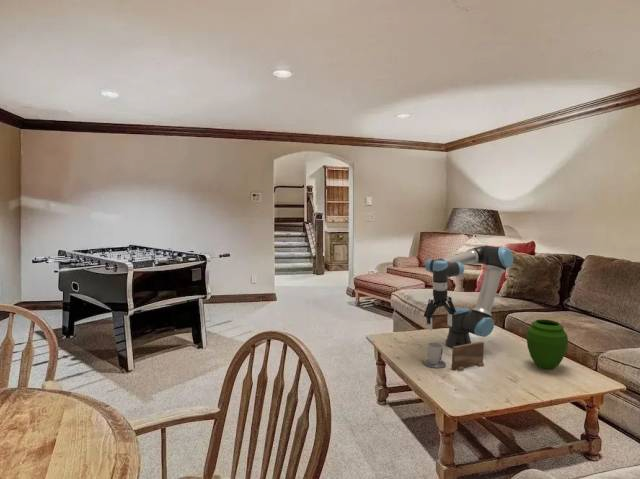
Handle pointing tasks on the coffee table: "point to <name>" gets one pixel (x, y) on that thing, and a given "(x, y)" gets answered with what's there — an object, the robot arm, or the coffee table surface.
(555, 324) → the vase
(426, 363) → the coaster
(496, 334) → the coffee table surface
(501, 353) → the coffee table surface
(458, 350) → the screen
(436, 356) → the cup
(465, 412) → the coffee table surface
